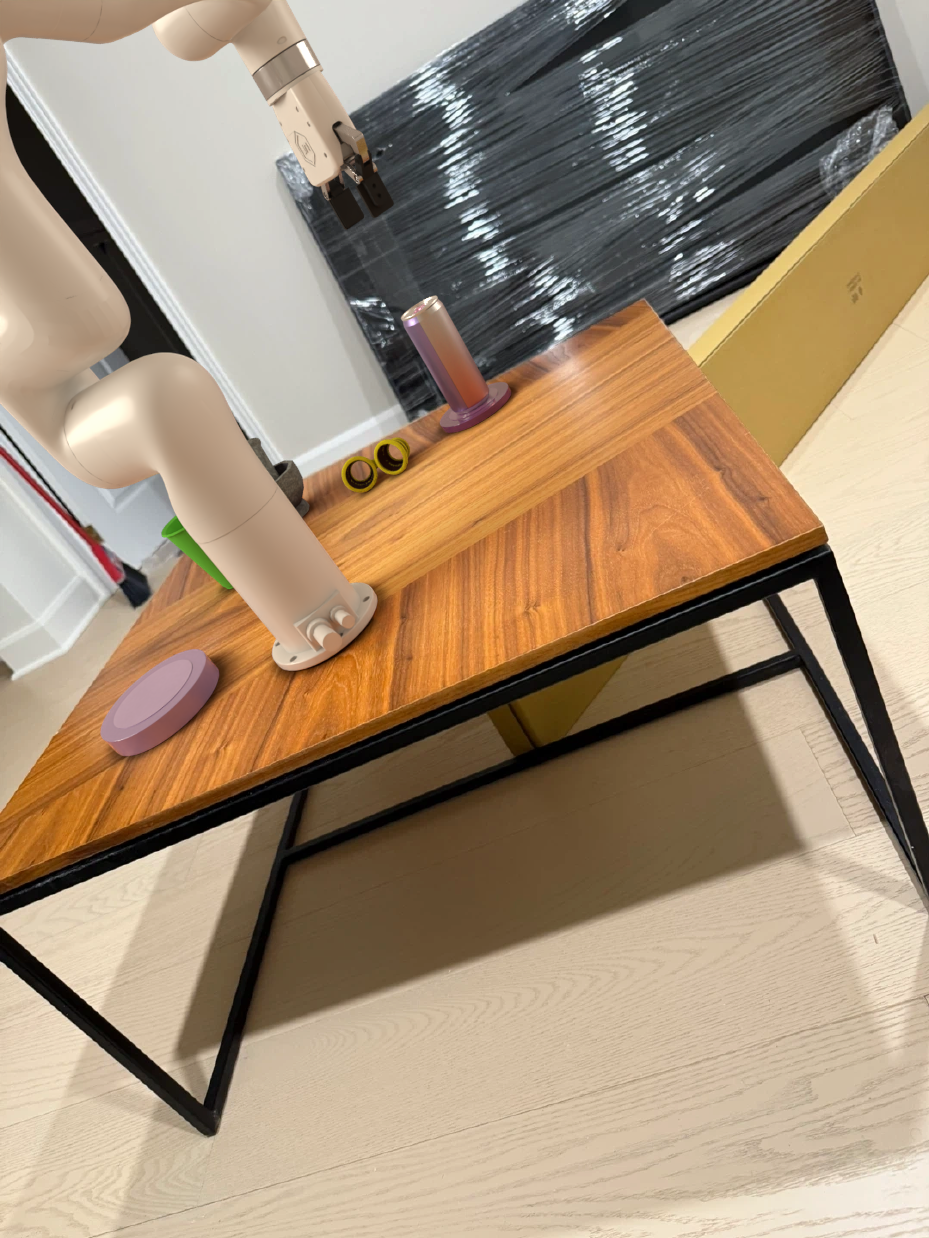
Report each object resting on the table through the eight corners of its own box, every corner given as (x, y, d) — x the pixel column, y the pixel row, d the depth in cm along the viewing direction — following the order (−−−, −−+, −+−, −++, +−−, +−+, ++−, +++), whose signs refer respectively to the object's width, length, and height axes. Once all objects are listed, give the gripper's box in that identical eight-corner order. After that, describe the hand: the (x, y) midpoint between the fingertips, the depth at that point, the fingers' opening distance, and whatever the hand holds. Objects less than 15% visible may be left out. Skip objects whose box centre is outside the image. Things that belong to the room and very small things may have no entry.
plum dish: (525, 388, 115) (521, 381, 114) (466, 435, 112) (462, 429, 112) (486, 387, 124) (483, 381, 124) (430, 430, 122) (427, 424, 121)
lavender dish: (232, 685, 89) (218, 669, 88) (124, 775, 86) (108, 759, 85) (204, 650, 101) (190, 635, 100) (107, 728, 98) (93, 713, 97)
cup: (253, 586, 109) (200, 520, 104) (203, 607, 113) (149, 544, 108) (277, 548, 116) (228, 484, 111) (229, 568, 120) (179, 508, 115)
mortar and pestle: (316, 515, 118) (265, 445, 113) (261, 547, 120) (209, 479, 114) (321, 486, 128) (275, 420, 122) (270, 515, 130) (222, 451, 124)
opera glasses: (418, 459, 118) (400, 427, 116) (414, 466, 113) (395, 434, 111) (359, 490, 120) (341, 460, 118) (353, 500, 115) (334, 468, 113)
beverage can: (451, 421, 117) (395, 324, 109) (457, 404, 121) (404, 310, 114) (488, 403, 114) (434, 303, 107) (494, 386, 119) (441, 289, 112)
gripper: (245, 111, 103) (323, 243, 111) (284, 68, 88) (371, 224, 96) (293, 81, 104) (366, 213, 113) (339, 34, 90) (420, 190, 98)
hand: (369, 218), depth 105 cm, fingers open, 9 cm apart
